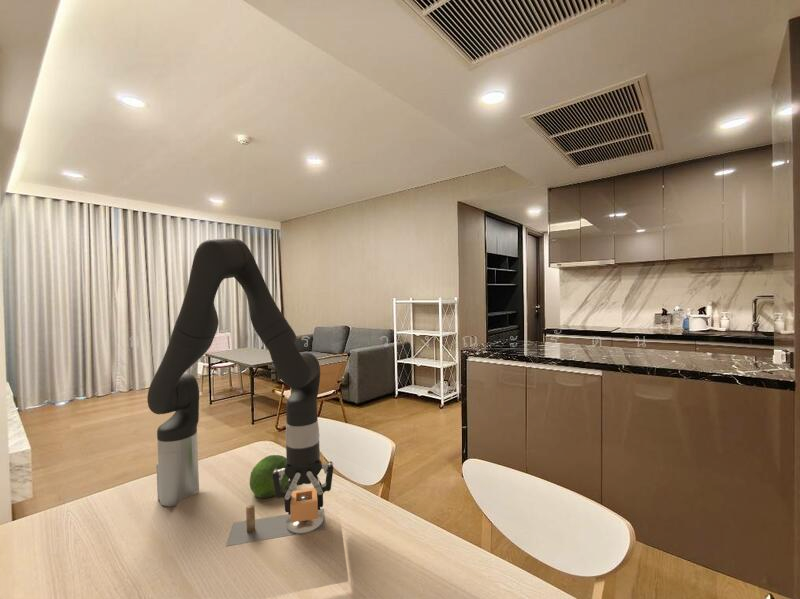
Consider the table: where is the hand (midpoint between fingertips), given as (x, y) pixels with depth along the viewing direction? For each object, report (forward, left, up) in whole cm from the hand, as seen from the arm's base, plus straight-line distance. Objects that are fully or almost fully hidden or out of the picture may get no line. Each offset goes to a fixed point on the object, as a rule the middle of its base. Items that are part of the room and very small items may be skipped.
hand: (304, 510), depth 87 cm
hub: (0, 0, -3) cm, 3 cm away
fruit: (-18, +10, -5) cm, 21 cm away
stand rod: (-10, -7, -3) cm, 12 cm away
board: (-5, -3, -4) cm, 7 cm away
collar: (0, 0, -1) cm, 1 cm away
